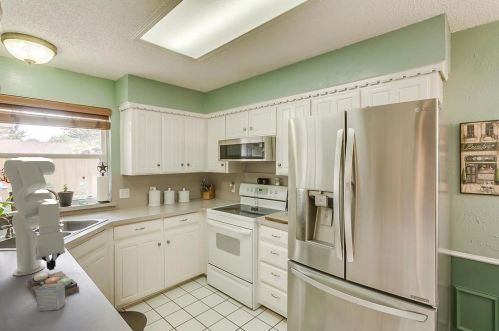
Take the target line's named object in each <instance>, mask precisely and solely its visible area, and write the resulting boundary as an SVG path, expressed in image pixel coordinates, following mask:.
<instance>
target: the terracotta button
mask: <svg viewBox="0 0 499 331" xmlns="http://www.w3.org/2000/svg"><path fill="white" fill-rule="evenodd" d="M58 281H59V277H53V278H49V279H47V280H46V281H45V284H53V283H56V282H58Z"/></svg>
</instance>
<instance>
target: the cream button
mask: <svg viewBox="0 0 499 331" xmlns="http://www.w3.org/2000/svg"><path fill="white" fill-rule="evenodd" d="M48 273H49V272H40V273H37V274H36V275H34V276H33V278H34V282H38V281H41V280H45V279H47V278H48Z"/></svg>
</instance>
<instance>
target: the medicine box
mask: <svg viewBox="0 0 499 331" xmlns="http://www.w3.org/2000/svg"><path fill="white" fill-rule="evenodd" d="M36 294H37V297H36V306H37V312H44V311H58V310H60V309H61V308H62V307H63V306H65V305H66V296H65V287H64V283H59V284H44V285H43V286H41V287H40V288H38V289H37V290H36Z"/></svg>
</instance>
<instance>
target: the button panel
mask: <svg viewBox="0 0 499 331" xmlns="http://www.w3.org/2000/svg"><path fill="white" fill-rule="evenodd" d="M47 273H48V278H47V279H49V278H53V277H59V280H61V279H65V278H70V277H69V276H68V275H67V274H65V273H64V272H63V271H58V272H54V273H51V274H50V273H49V272H47ZM47 279H45V280H41V281H38V282H34V277H31V278H29V279H28V281H27V287H28V288H29V289H30V290H31V292H32V294H33V295H34V296H35V297H36V298H37V294H36V290H37V289H38V288H40V287H41V286H43V285H44V284H45V281H46V280H47ZM53 284H57V282H56V283H53ZM77 292H80V286H79V285H78V283H77V281H76V280H75V279H73V278H71V285H68V286H65V297H67V296H70V295H73V294H75V293H77Z"/></svg>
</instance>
